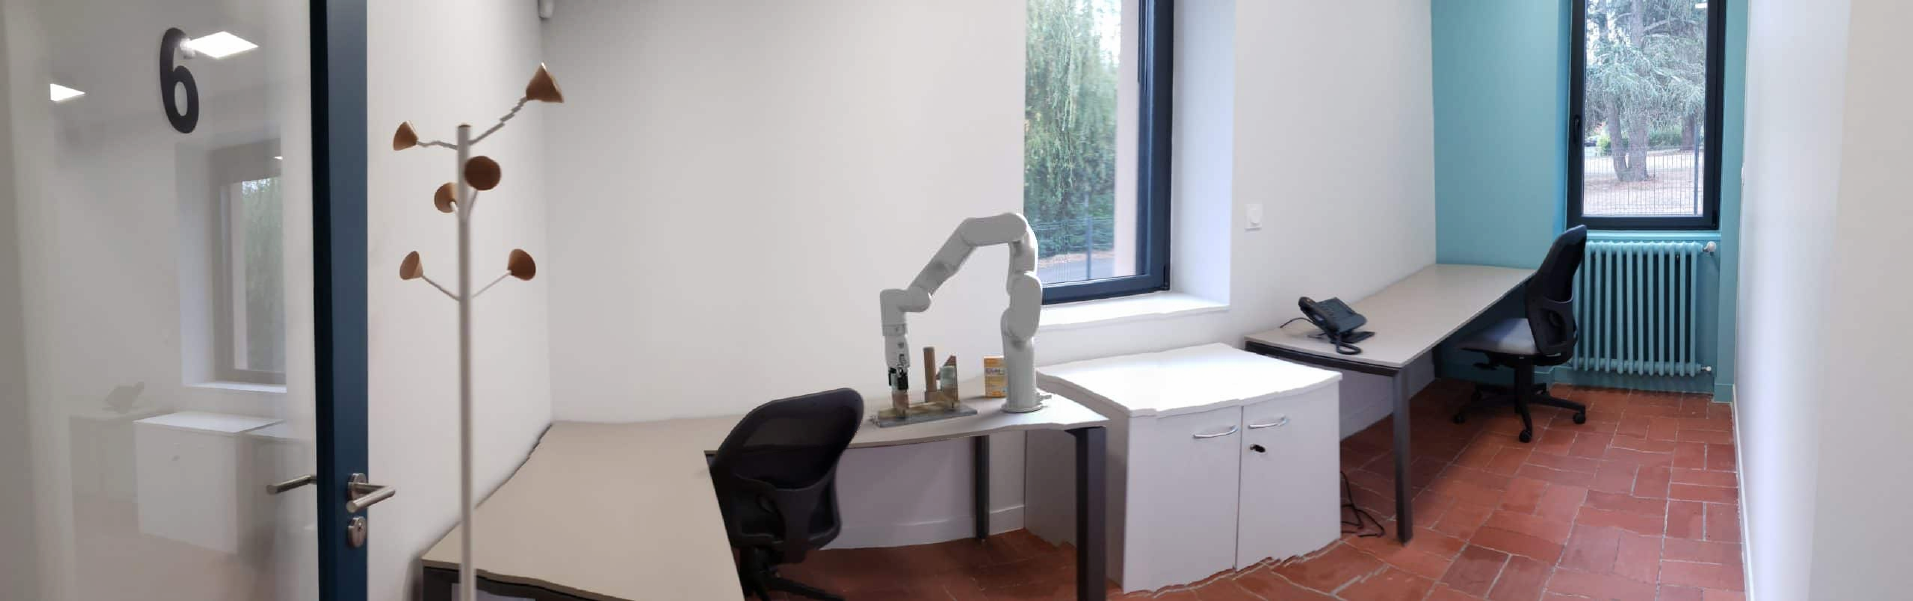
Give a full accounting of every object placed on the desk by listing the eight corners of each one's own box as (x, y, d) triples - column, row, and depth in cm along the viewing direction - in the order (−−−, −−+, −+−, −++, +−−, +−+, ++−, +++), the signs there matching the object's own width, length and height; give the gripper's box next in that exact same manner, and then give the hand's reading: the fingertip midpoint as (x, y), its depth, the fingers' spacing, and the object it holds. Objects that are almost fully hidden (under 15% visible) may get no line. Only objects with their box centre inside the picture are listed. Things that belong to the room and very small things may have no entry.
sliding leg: (904, 411, 320) (901, 371, 319) (911, 414, 314) (908, 374, 313) (891, 412, 319) (888, 372, 318) (898, 416, 313) (895, 375, 312)
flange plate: (960, 405, 331) (959, 402, 331) (977, 413, 318) (977, 409, 318) (869, 418, 320) (869, 415, 320) (883, 427, 307) (883, 423, 307)
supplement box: (985, 397, 340) (982, 358, 339) (987, 394, 345) (984, 355, 344) (1010, 397, 339) (1008, 357, 338) (1012, 394, 344) (1009, 354, 342)
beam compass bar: (957, 404, 327) (954, 363, 326) (965, 408, 321) (963, 366, 320) (878, 416, 318) (875, 374, 316) (885, 420, 312) (882, 377, 310)
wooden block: (959, 399, 341) (955, 344, 339) (929, 404, 336) (925, 348, 334) (953, 397, 344) (950, 343, 342) (924, 402, 339) (920, 347, 337)
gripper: (916, 331, 307) (920, 390, 309) (897, 325, 323) (901, 381, 325) (891, 334, 304) (896, 394, 306) (874, 328, 320) (878, 384, 322)
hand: (898, 387), depth 316 cm, fingers open, 8 cm apart
